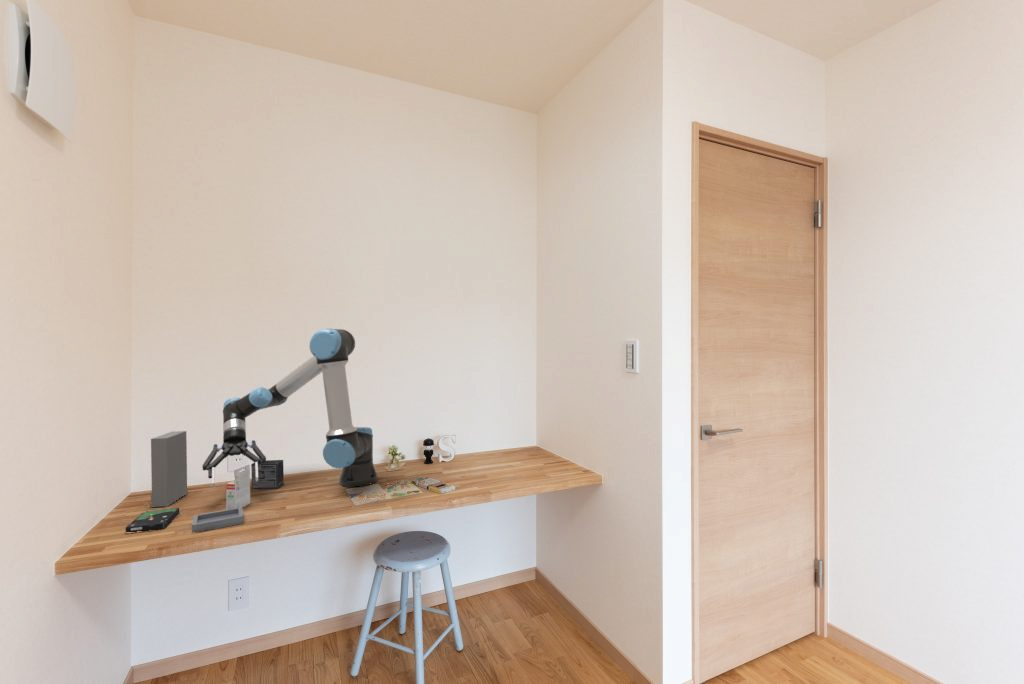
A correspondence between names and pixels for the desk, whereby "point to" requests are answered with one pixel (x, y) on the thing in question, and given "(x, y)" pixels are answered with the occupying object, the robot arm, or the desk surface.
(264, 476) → the small box
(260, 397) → the robot arm
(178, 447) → the dark grey slab
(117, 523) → the desk surface
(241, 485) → the ink box
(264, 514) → the desk surface
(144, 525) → the disk drive
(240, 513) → the holder
